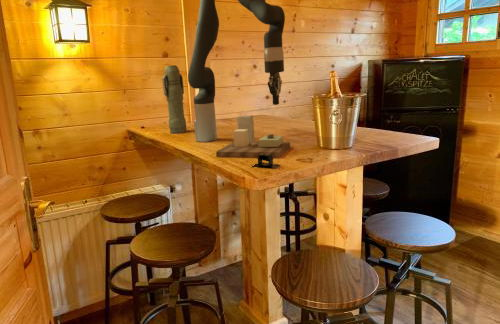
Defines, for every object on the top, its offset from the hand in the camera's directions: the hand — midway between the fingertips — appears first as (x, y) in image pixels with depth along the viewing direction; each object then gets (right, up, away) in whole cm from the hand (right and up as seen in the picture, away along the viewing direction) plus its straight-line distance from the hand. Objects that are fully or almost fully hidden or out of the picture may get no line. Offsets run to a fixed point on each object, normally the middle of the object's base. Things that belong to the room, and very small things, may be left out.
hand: (276, 104), depth 155 cm
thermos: (-49, -7, +55) cm, 74 cm away
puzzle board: (-9, -19, -5) cm, 22 cm away
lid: (-2, -16, -6) cm, 17 cm away
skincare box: (-12, -15, +13) cm, 23 cm away
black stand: (-5, -25, -25) cm, 36 cm away
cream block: (-14, -18, -1) cm, 23 cm away
